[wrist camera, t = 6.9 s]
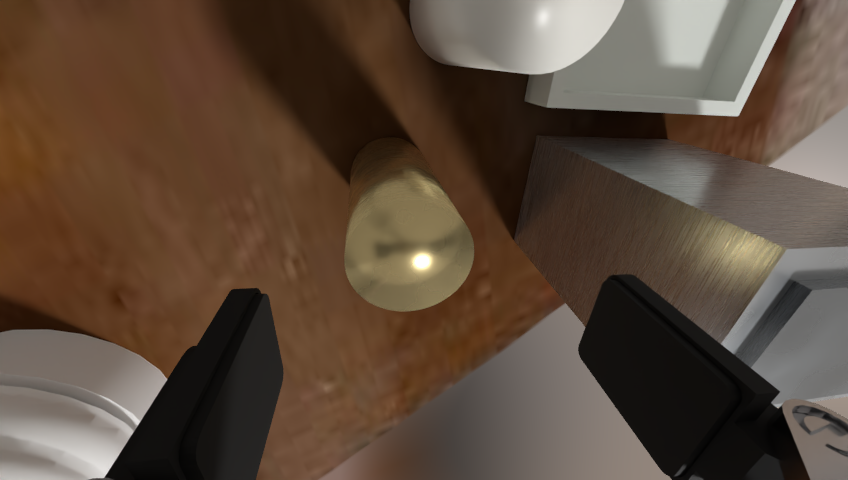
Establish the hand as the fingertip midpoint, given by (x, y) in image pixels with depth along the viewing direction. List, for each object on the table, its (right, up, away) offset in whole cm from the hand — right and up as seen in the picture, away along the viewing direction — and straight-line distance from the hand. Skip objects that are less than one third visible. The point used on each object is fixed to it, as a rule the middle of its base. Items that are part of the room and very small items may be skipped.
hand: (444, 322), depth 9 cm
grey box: (+10, +6, +12) cm, 17 cm away
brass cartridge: (-3, +6, +10) cm, 12 cm away
